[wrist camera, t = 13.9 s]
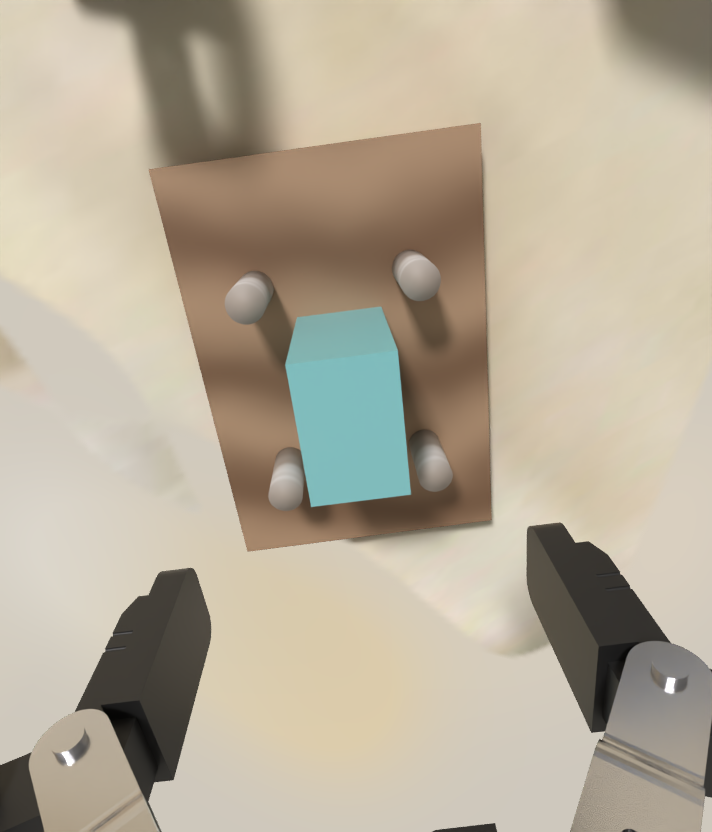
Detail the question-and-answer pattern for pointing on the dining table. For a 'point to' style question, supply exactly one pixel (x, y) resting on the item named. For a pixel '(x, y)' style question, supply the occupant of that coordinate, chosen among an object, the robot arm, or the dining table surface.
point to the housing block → (348, 406)
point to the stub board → (335, 292)
